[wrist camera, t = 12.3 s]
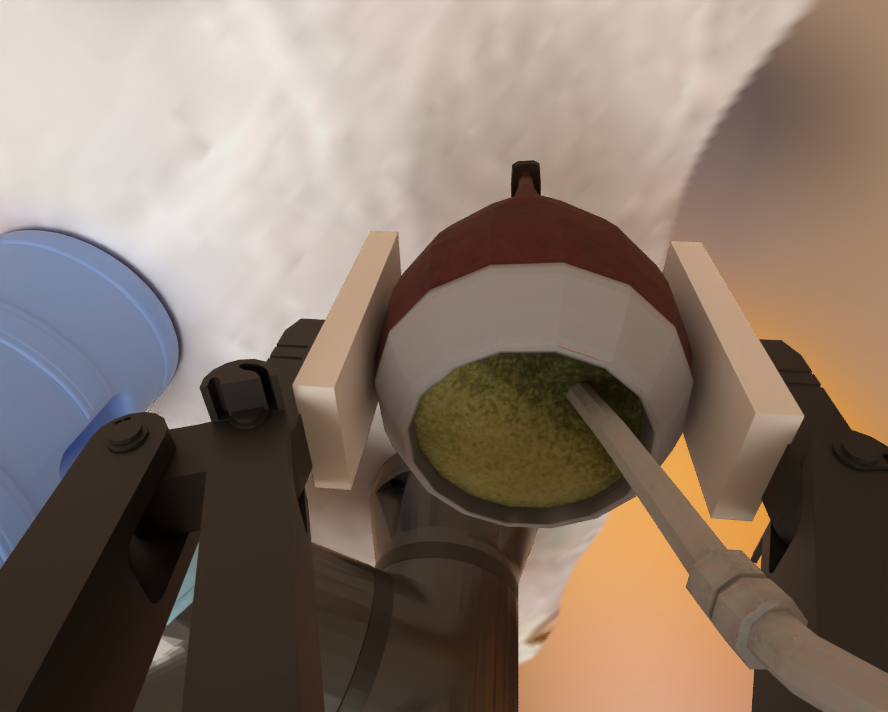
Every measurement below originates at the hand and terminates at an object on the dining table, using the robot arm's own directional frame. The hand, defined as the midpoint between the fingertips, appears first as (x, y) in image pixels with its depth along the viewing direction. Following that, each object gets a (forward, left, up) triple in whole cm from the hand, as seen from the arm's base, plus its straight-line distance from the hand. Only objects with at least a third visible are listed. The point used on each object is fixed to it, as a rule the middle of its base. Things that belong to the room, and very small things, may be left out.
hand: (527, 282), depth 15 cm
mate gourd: (0, 0, -2) cm, 2 cm away
